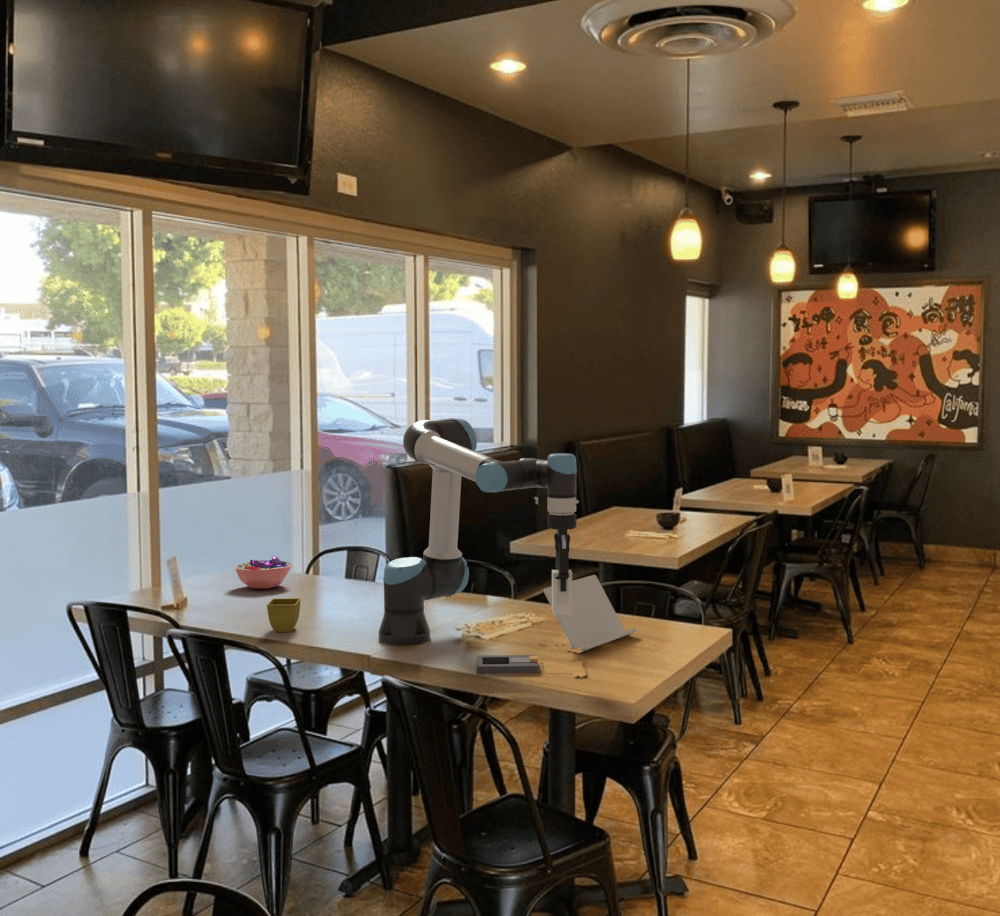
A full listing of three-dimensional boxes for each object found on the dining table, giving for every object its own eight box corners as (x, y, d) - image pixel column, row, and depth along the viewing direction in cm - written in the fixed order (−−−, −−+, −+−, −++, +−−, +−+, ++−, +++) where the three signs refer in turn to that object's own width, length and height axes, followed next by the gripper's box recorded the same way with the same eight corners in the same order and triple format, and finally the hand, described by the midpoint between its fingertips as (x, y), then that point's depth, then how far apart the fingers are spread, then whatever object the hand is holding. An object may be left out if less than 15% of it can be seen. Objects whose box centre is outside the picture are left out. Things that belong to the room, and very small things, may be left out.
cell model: (235, 584, 384) (234, 553, 383) (291, 581, 389) (290, 551, 388) (235, 594, 368) (234, 562, 367) (293, 591, 373) (293, 559, 372)
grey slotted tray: (477, 677, 274) (476, 663, 274) (476, 666, 284) (476, 652, 284) (538, 677, 275) (538, 662, 274) (536, 665, 285) (536, 651, 284)
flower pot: (273, 626, 325) (272, 598, 324) (301, 626, 326) (300, 597, 325) (267, 634, 317) (266, 604, 316) (296, 634, 317) (295, 604, 316)
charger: (553, 614, 276) (553, 570, 275) (551, 610, 280) (551, 567, 279) (572, 614, 276) (572, 570, 275) (570, 610, 280) (570, 567, 279)
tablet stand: (537, 645, 305) (537, 587, 304) (587, 627, 324) (588, 573, 323) (588, 656, 294) (588, 596, 292) (637, 638, 313) (638, 581, 311)
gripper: (579, 518, 267) (579, 608, 269) (573, 508, 284) (573, 593, 286) (550, 518, 267) (550, 609, 269) (545, 508, 284) (545, 593, 286)
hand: (562, 600), depth 278 cm, fingers closed on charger, 4 cm apart
